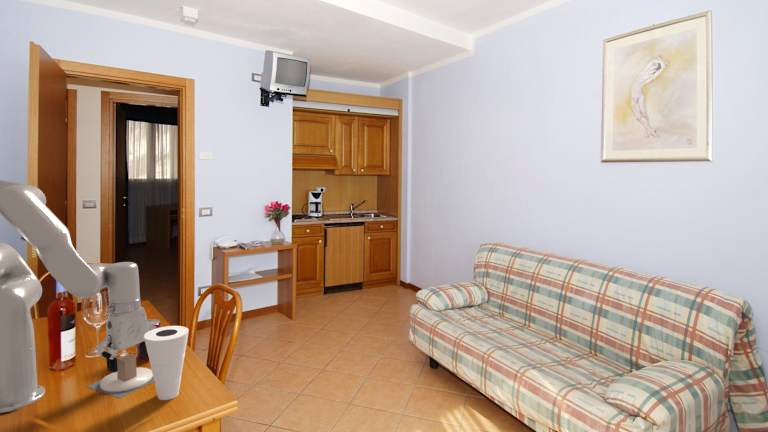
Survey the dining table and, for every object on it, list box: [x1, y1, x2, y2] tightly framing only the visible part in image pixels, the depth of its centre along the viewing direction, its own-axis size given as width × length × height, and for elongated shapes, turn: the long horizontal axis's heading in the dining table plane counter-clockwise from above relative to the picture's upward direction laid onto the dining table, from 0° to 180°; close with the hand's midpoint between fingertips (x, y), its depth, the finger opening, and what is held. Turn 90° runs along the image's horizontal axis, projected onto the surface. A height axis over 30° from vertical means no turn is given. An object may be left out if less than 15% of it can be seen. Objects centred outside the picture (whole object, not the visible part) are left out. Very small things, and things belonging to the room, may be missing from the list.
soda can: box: [135, 318, 162, 362], centre depth 137 cm, size 7×7×12 cm
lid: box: [99, 353, 153, 393], centre depth 121 cm, size 13×13×7 cm
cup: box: [144, 325, 190, 401], centre depth 113 cm, size 11×11×18 cm
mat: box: [86, 366, 155, 399], centre depth 121 cm, size 14×14×1 cm
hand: (129, 363), depth 121 cm, fingers open, 9 cm apart
